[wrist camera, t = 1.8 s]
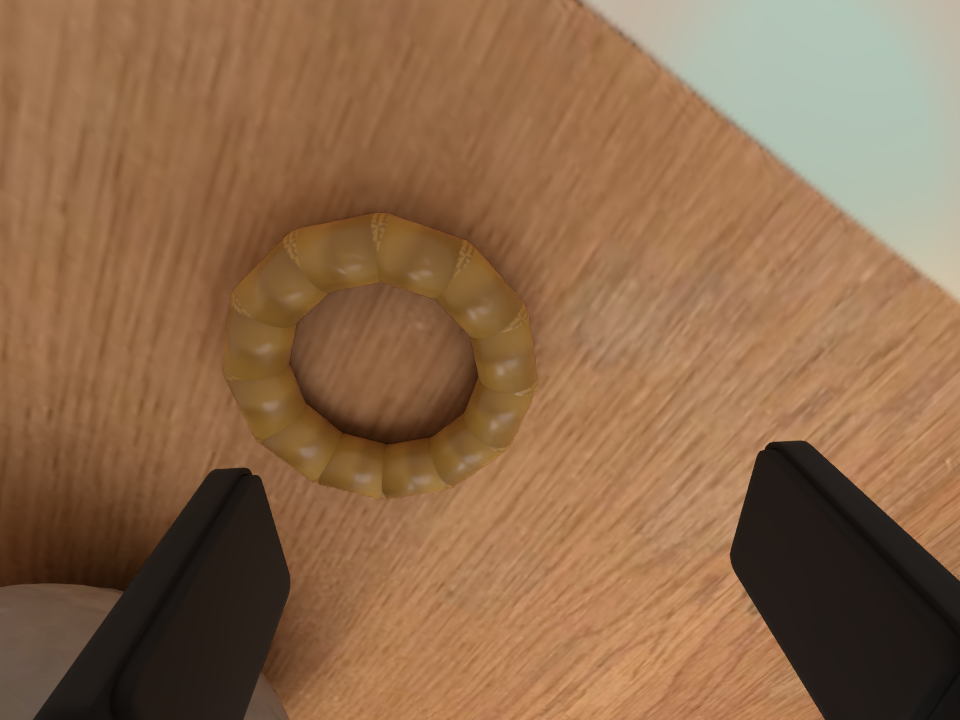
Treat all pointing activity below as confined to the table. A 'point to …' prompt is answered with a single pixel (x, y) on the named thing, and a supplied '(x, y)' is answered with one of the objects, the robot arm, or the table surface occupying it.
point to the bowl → (66, 645)
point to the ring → (404, 264)
